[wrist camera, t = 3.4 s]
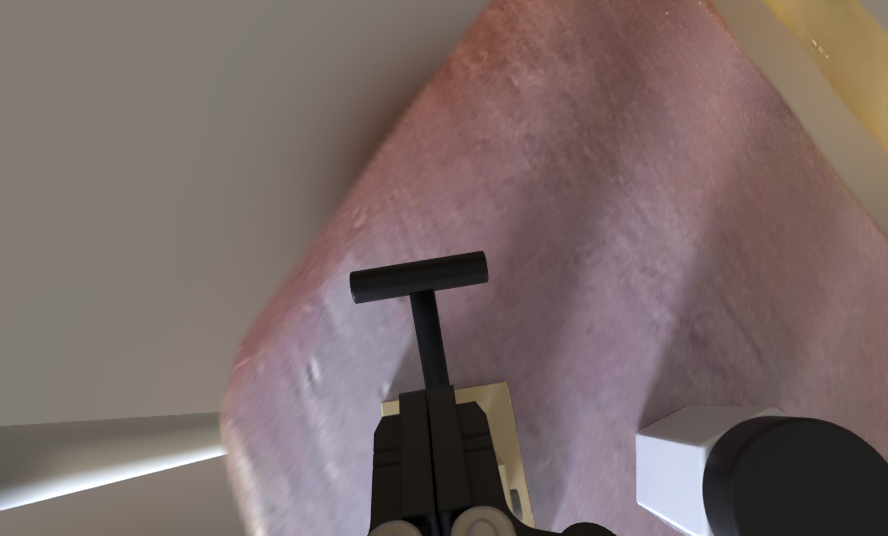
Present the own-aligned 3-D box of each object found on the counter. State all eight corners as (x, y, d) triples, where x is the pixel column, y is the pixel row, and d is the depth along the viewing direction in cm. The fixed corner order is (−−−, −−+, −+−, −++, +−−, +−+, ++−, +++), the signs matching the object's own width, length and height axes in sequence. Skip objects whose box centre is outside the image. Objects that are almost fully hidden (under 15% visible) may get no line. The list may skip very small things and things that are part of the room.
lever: (353, 267, 22) (345, 277, 20) (480, 247, 22) (486, 254, 20) (404, 532, 25) (403, 569, 22) (518, 512, 25) (528, 547, 22)
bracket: (383, 401, 34) (347, 404, 23) (505, 381, 35) (530, 374, 23) (406, 589, 31) (378, 698, 20) (540, 565, 31) (588, 661, 20)
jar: (668, 563, 31) (793, 661, 20) (605, 444, 33) (686, 469, 22) (783, 501, 32) (967, 560, 21) (715, 388, 34) (848, 384, 23)
